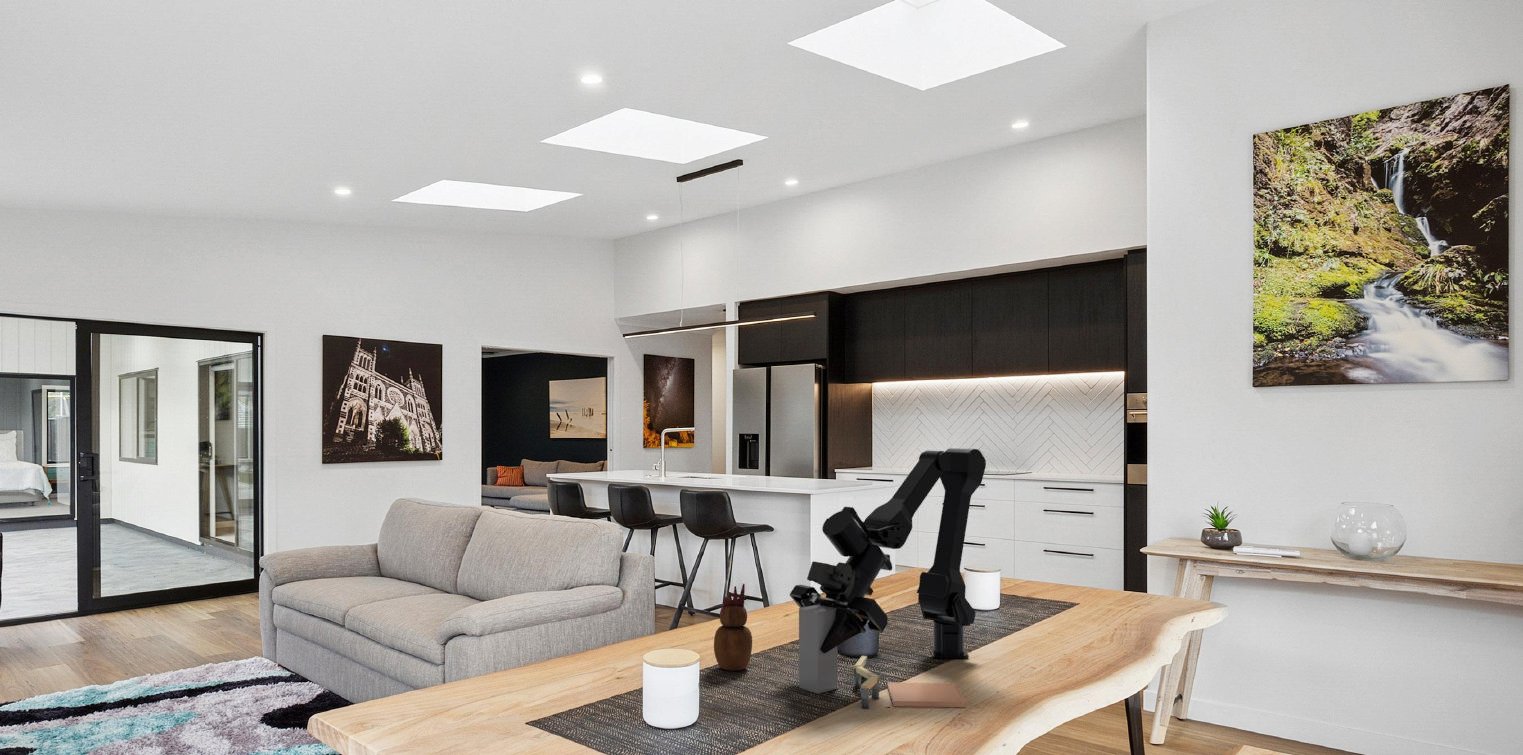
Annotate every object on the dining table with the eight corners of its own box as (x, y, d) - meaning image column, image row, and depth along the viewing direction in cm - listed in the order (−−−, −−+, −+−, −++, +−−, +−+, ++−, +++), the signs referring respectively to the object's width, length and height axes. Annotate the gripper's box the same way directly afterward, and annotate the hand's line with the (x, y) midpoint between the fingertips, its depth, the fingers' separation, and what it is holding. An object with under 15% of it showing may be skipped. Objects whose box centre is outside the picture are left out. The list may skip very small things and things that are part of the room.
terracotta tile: (887, 687, 149) (887, 682, 149) (954, 688, 148) (954, 683, 148) (893, 706, 139) (893, 700, 139) (965, 707, 138) (965, 701, 138)
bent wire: (851, 675, 156) (851, 655, 156) (873, 676, 155) (873, 655, 156) (857, 708, 137) (857, 685, 138) (882, 709, 137) (881, 686, 137)
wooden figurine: (756, 666, 162) (756, 582, 162) (745, 674, 156) (745, 587, 157) (721, 663, 164) (721, 580, 165) (709, 671, 158) (709, 585, 159)
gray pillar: (798, 687, 148) (798, 608, 149) (818, 682, 151) (818, 604, 152) (817, 693, 145) (817, 612, 146) (837, 688, 148) (837, 608, 149)
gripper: (797, 538, 159) (749, 609, 151) (875, 549, 145) (826, 628, 137) (829, 578, 164) (784, 649, 156) (908, 593, 150) (862, 671, 142)
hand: (812, 648), depth 148 cm, fingers closed on gray pillar, 4 cm apart
